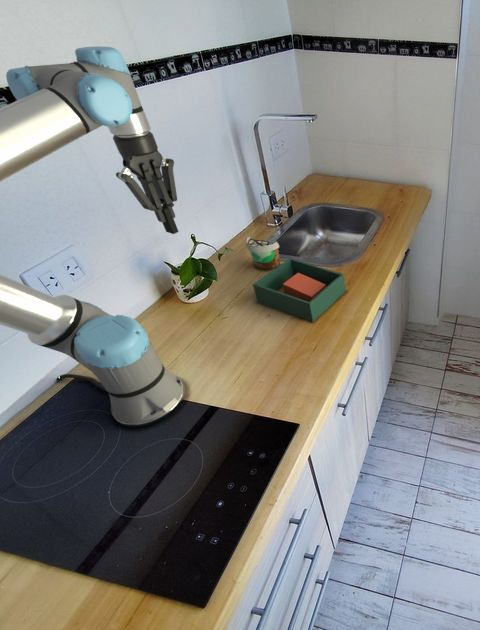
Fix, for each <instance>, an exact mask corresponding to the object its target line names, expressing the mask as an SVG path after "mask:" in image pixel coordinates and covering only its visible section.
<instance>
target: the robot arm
mask: <svg viewBox="0 0 480 630" xmlns="http://www.w3.org/2000/svg"><path fill="white" fill-rule="evenodd" d="M74 55H75V59H76V61H72V62H69V63H68V62H66V63H54V64H41V65H31V66H29V65H24V66H23V67H15V68H10V69H8V70H7V72H6V74H5V77H6V82H7V86H8V88H9V90H10V92H11V93H12V95H13V97H14V98H15V101H14V102H11V103H9V104H6V105H5V106H3V107H1V108H0V182H2V181H4V180H7V178H10V177H12V176H13V175H15V174H17V173H19V172H21V171H22V170H24V169H26V168H28V167H29V166H32V165H33V164H35V163H38V162H39V161H40V160H42V159H45V157H48V156H49V155H51V154H53V153H55V152H56V151H59V150H60V149H62V148H65V147H66V146H67V145H69V144H71V143H73V142H75V141H76V140H78V139H80V138H82V137H84V136H86V135H88V134H89V133H91V132H93V131H95V130H97V129H99V128H100V127H102V126H105V127H107V128H108V131H109V132H110V134H111V135H113V136H112V140H113V142H114V144H115V146H116V149H117V150H118V153H119V154H120V156H121V158H122V166H123V168H122V170H121V171H118V172H116V173H115V177H116V178H118V179H119V180H120V181H122V182H123V183H124V184H125V185H126V186H127V188H128V189H129V190H130V192H131V193H132V195H133V196H134V197H135V198H136V200H137V202H138V203H139V205H140V206H141V207H142V208H143V209H145V210H148V211H152V212H154V214H155V217H156V219H157V221H158V222H159V223H161V224H162V225H163V229H164V230H165V232H166V233H170V234H171V235H175V234H177V233H179V229H178V227H177V224H176V222H175V218H176V213H175V211H174V209H173V208H174V206H175V202H177V201H178V194H177V189H176V181H175V174H174V165H175V160H174V159H173V158H168V157H164V156H163V155H162V153H161V152H160V151H159V150H158V148H159V147H158V144H157V142H156V139H155V136H154V134H153V132H151V131H150V130H151V129H152V128H151V125H150V122H149V120H148V118H147V116H146V112H145V110H144V108H143V105H142V103H141V100H140V97H139V94H138V92H137V89H136V87H135V83H134V81H133V78H132V74H131V73H132V72H130V70H129V68H128V65H127V63H126V61H125V59H124V57H123V55H122V53H121V51H119V50H118V49H117V48H116V47H111V46H84V47H77V48H76V49H75V50H74ZM134 176H135V177H136V178H137V180H138V181H139V182H140V185H141V186H140V185H139V183H138V182H137V181H136V180H135V179H134ZM141 187H142V188H141ZM0 325H1V326H3V327H6V328H9V329H13V330H16V331H18V332H22V333H25V334H26V335H27V338H28V340H29V341H30V342H31V343H32V344H34V345H37V346H40V347H43V348H46V349H49V350H52V351H55V352H59V353H62V354H65V355H67V356H69V357H70V358H72V359H73V360H75V361H76V362H77V363H79V364H80V365H81V366H83V367H84V368H85V369H87V370H89V371H90V372H91V373H92V374H93V375H94V376H95V377H96V379H95V378H93V377H91V376H86V375H81V374H74V373H73V374H72V373H65V374H64V373H63V374H61V375H59V376H60V379H59V378H58V377H59V376H57V377H56V379H55V380H56V382H59V381H60V382H61V381H62V380H63V379H77V380H83V381H85V382H86V381H87V382H90V383H92V384H93V385H94V386H95V387H97V388H99V389H100V390H102V391H104V392H107V394H108V396H109V400H110V412H111V415H112V417H113V418H114V420H115V421H116V422H117V423H118V424H119V425H120V426H122V427H125V428H128V429H129V428H131V429H139V428H145V427H149V426H152V425H155V424H157V423H160V422H161V421H163V420H165V419H167V418H168V417H170V416H171V415H172V414H173V413H175V412H176V411H177V410H178V409H179V407H181V405H182V403H183V402H184V400H185V398H186V394H187V390H186V386H185V384H184V382H183V380H182V379H181V378H180V377H179V376H178V375H176V374H175V373H174V372H172V371H170V369H168V368H166V367H165V365H164V364H163V361H162V360H161V358H160V357H159V355H158V353H157V352H156V349H155V347H154V346H153V344H152V342H151V341H150V338H149V336H148V333H147V332H146V330H145V329H144V328H143V327H142V325H141V324H140V322H138V321H137V320H136V319H134V318H132V317H131V316H127V315H123V314H116V315H115V316H114V315H113V314H110V313H108V312H106V311H105V310H103V309H102V308H100V307H99V306H97V305H95V304H93V303H91V302H87V301H83V300H80V299H77V298H75V297H73V296H70V295H67V294H59V295H56V296H52V295H49V294H47V293H45V292H43V291H41V290H38V289H35V288H34V287H31V286H28V285H26V284H24V283H21V282H19V281H17V280H14V279H12V278H10V277H7V276H5V275H3V274H0Z"/></svg>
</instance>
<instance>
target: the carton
mask: <svg viewBox="0 0 480 630" xmlns="http://www.w3.org/2000/svg"><path fill="white" fill-rule="evenodd" d="M282 287H283V293H284V294H287V295H290V296H293V297H296V298H299V299H302V300H305V301H308V302H310V301H311V300H312V299H313V298H314V297H316V296H317V295H318V294H319V293H320V292H321V291H323V290H324V289H325V288H326V285H325V284H323V283H321V282H319V281H316V280H314V279H312V278H309V277H307V276H305V275H303V274H300V273H297V274H296V275H294V276H293V277H292V278H290V279H289V280H288V281H286V282H285V283H284V284H283V285H282Z"/></svg>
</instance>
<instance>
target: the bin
mask: <svg viewBox="0 0 480 630" xmlns="http://www.w3.org/2000/svg"><path fill="white" fill-rule="evenodd" d="M297 273H300V274H303V275H305V276H307V277H309V278H312V279H314V280H316V281H319V282H321V283H323V284H325V285H326V288H325V289H324V290H323V291H321V292H320V293H319V294H318V295H317V296H316V297H314V298H313V299H312V300H311V301H310V302H308V301H305V300H302V299H299V298H296V297H293V296H290V295H287V294H284V292H281V291H278V289H280V288H281V287H283V284H284V283H285V282H286V281H288V280H289V279H290V278H292V277H293V276H294V275H296V274H297ZM252 288H253V290H254V294H255V297H256V301H257V303H260V304H262V305H265V306H268V307H271V308H273V309H276V310H279V311H281V312H283V313H284V312H285V313H287V314H289V315H292V316H295V317H299V318H301V319H304V320H306V321H310V322H312V323H314V322H315V321H316V320H317V319H318V318H319V317H320V316H322V314H324V312H326V311H327V310H328V309H329V308H330V307H331V306H332V305H333V304H334V303H335V302H336V301H337V300H338V299H340V298H341V296H343V295H344V294H345V293H346V292H347V289H346V282H345V274H344V273H341V272H337V271H334V270H331V269H328V268H325V267H321V266H318V265H315V264H312V263H308V262H306V261H302V260H298V259H295V258H291V257H290V258H288V259H286V260H285V261H284V262H282V263H280V266H278V267H277V268H275V269H271V270H270V272H268V273H267V274H265V275H264V276H263V277H260V278H259V279H258V280H257V281H255V282H254V283H253V284H252Z"/></svg>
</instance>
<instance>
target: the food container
mask: <svg viewBox="0 0 480 630" xmlns="http://www.w3.org/2000/svg"><path fill="white" fill-rule="evenodd" d="M245 246H246V250H248V251H249V252H250V255H251V258H252V260H253V262H254V265H255V268H257V269H258V270H261V271H272V270H274V269H275V268H277V267H278V266H280V265H281V259H280V258H281V257H280V252H279V248H280V244H279V243H278V241H275V242H270V241H267V240H264V239H255V238H251V236H250V235H249V236H248V237H247V238H246V241H245Z"/></svg>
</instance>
